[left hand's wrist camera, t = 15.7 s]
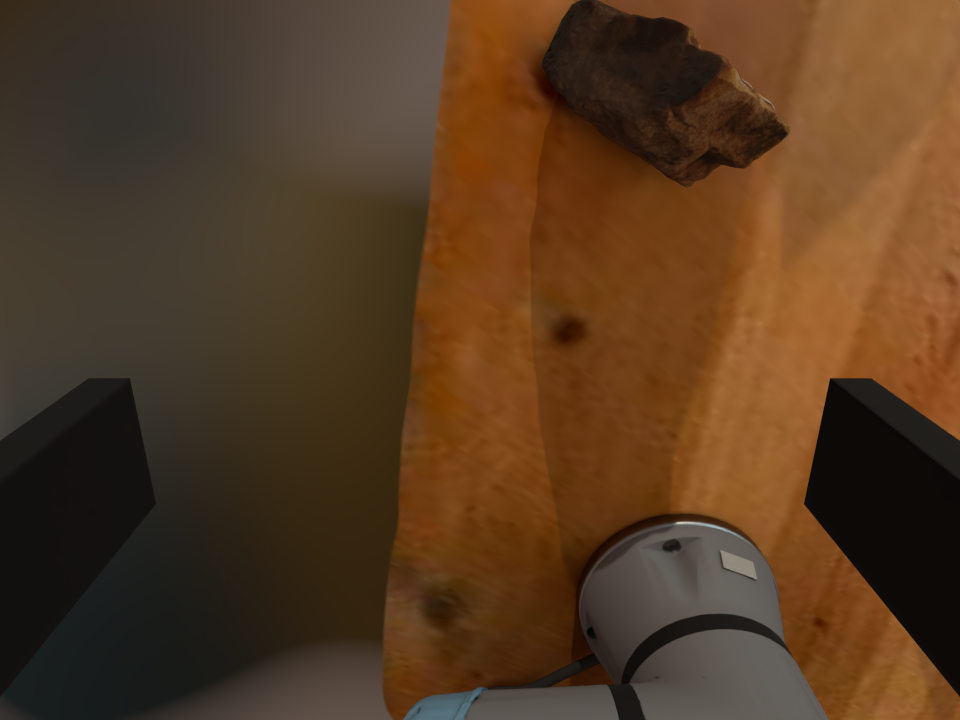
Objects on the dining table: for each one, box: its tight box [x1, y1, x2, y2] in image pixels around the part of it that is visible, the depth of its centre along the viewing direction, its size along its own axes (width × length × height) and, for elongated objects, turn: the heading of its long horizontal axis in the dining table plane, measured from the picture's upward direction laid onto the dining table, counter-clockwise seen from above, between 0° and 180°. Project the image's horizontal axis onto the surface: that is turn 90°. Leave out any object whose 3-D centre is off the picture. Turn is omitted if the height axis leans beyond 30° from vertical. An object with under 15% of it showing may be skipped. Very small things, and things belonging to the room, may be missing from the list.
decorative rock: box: [542, 0, 790, 187], centre depth 34 cm, size 12×6×11 cm, turn 54°
